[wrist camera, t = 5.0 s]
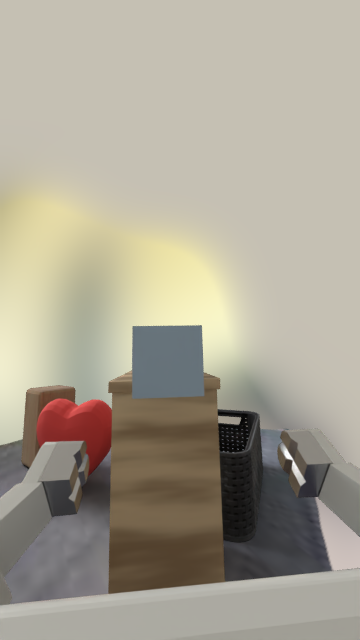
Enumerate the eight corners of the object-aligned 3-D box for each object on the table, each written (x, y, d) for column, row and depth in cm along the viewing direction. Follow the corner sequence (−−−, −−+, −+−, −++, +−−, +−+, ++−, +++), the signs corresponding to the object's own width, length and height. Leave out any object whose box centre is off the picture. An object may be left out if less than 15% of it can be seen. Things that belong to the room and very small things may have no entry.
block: (19, 464, 65) (25, 388, 68) (56, 452, 73) (60, 384, 76) (35, 474, 59) (40, 391, 62) (74, 460, 67) (77, 386, 70)
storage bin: (254, 550, 35) (248, 452, 37) (140, 519, 42) (140, 439, 44) (264, 466, 61) (260, 411, 63) (192, 456, 68) (191, 407, 70)
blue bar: (204, 396, 13) (201, 325, 14) (132, 398, 13) (132, 326, 14) (175, 369, 39) (175, 345, 40) (151, 370, 39) (150, 345, 39)
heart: (123, 481, 55) (124, 397, 58) (101, 503, 47) (103, 404, 49) (51, 472, 60) (56, 395, 63) (21, 490, 52) (27, 401, 55)
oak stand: (234, 706, 19) (219, 378, 23) (101, 726, 19) (108, 381, 22) (198, 536, 38) (193, 368, 42) (130, 542, 37) (132, 370, 41)
